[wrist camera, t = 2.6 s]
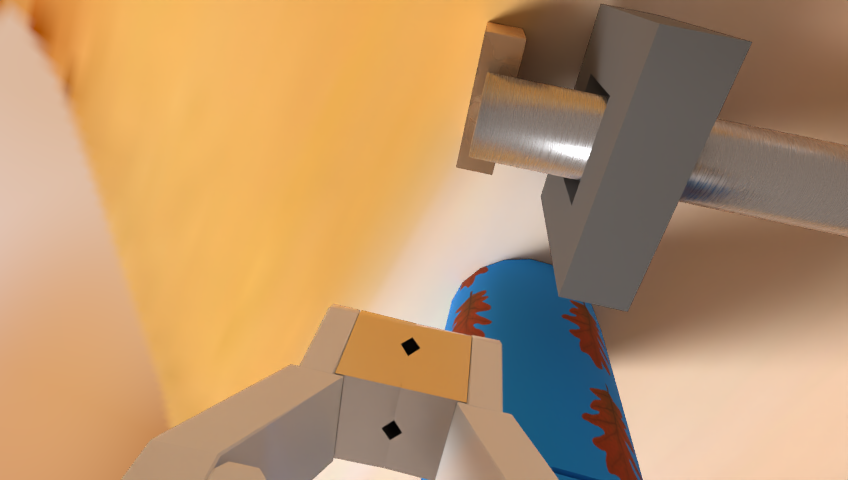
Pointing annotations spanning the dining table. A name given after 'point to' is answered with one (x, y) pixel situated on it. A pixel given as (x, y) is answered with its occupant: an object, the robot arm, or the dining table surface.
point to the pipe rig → (711, 177)
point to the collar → (635, 148)
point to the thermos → (550, 368)
